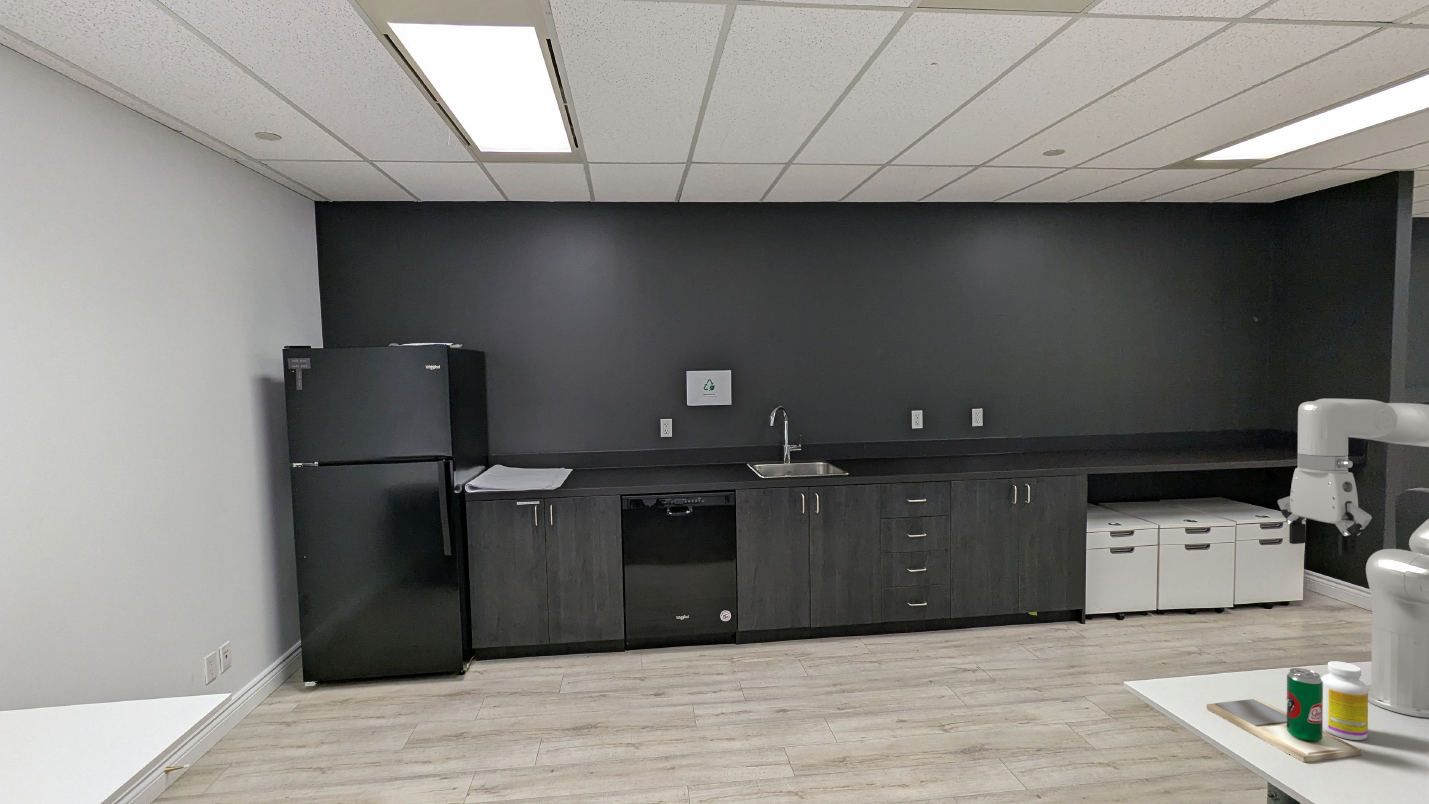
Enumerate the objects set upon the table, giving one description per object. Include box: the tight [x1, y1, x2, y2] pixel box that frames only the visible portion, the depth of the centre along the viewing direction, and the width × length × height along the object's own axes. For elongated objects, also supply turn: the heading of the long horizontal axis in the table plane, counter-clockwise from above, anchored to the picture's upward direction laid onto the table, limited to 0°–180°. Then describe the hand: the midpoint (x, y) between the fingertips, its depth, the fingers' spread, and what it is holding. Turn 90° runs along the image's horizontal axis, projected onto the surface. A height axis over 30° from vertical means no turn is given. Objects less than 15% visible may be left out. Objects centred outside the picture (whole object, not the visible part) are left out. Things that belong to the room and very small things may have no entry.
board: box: [1206, 698, 1362, 763], centre depth 133 cm, size 12×20×1 cm, turn 9°
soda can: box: [1286, 667, 1324, 742], centre depth 128 cm, size 5×5×12 cm
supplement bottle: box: [1320, 660, 1369, 741], centre depth 132 cm, size 7×7×13 cm
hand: (1321, 549), depth 138 cm, fingers open, 9 cm apart
